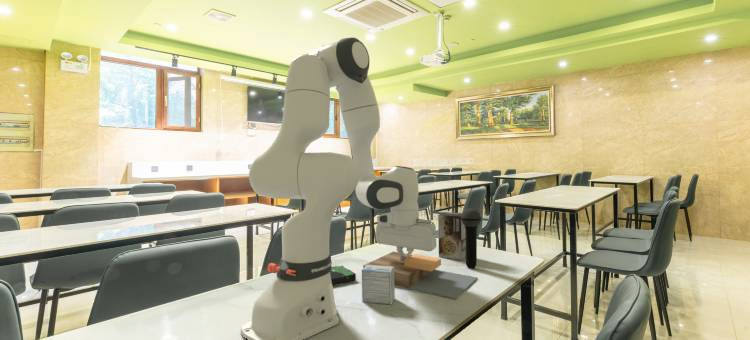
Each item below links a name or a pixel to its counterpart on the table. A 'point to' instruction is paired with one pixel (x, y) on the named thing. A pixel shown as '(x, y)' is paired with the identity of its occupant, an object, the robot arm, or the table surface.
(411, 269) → the board
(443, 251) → the coffee box
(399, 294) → the table surface
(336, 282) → the disk drive
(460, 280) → the mat
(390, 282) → the medicine box
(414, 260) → the orange block
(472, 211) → the microphone
